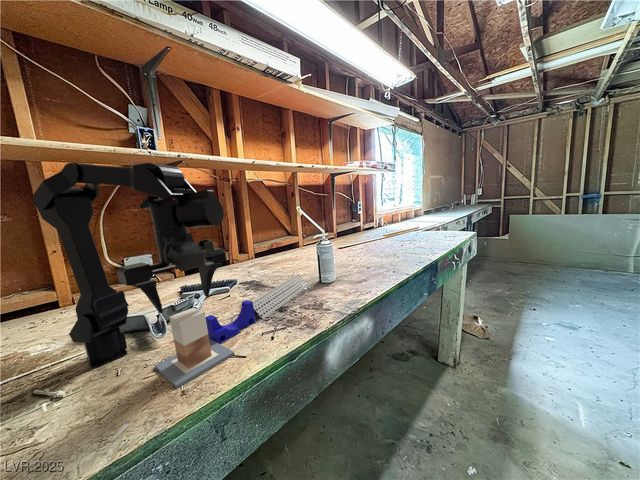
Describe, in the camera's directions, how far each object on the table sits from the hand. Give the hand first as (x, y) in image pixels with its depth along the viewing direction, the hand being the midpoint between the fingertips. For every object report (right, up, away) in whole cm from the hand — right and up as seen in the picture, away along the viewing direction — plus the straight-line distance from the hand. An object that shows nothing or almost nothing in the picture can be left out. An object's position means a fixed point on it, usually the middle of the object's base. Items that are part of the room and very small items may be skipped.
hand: (185, 303), depth 52 cm
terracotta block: (+1, -12, +2) cm, 12 cm away
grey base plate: (+1, -13, +2) cm, 13 cm away
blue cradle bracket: (+6, -11, +14) cm, 19 cm away
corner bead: (+14, -8, +34) cm, 37 cm away
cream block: (+1, -7, +1) cm, 7 cm away
